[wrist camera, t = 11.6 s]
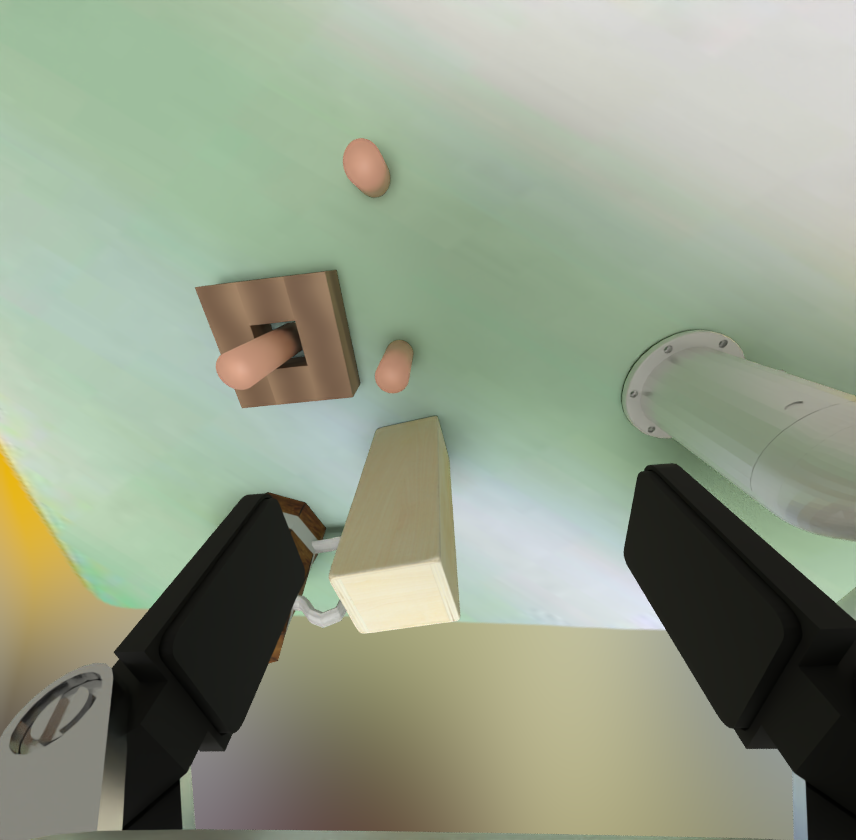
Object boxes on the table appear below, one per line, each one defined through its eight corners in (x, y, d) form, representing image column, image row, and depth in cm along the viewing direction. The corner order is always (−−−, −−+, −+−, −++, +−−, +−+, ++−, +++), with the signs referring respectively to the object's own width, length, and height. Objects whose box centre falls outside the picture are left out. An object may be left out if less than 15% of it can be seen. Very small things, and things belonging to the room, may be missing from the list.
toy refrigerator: (391, 476, 44) (361, 642, 25) (374, 428, 41) (325, 576, 22) (450, 464, 43) (465, 627, 24) (437, 414, 40) (443, 556, 21)
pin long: (304, 321, 35) (248, 349, 24) (311, 348, 37) (262, 387, 26) (276, 324, 35) (209, 353, 25) (285, 351, 37) (224, 391, 26)
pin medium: (411, 338, 36) (406, 358, 29) (414, 365, 37) (411, 391, 30) (383, 341, 36) (372, 362, 29) (388, 368, 37) (378, 394, 30)
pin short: (387, 154, 29) (379, 135, 24) (392, 195, 30) (385, 184, 26) (353, 159, 29) (339, 141, 25) (360, 199, 30) (347, 190, 26)
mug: (247, 563, 52) (182, 672, 38) (219, 493, 46) (130, 593, 32) (373, 560, 51) (352, 669, 38) (362, 489, 45) (332, 589, 32)
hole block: (336, 270, 33) (324, 271, 29) (360, 383, 38) (352, 397, 35) (220, 284, 34) (194, 287, 30) (259, 394, 39) (241, 408, 35)
